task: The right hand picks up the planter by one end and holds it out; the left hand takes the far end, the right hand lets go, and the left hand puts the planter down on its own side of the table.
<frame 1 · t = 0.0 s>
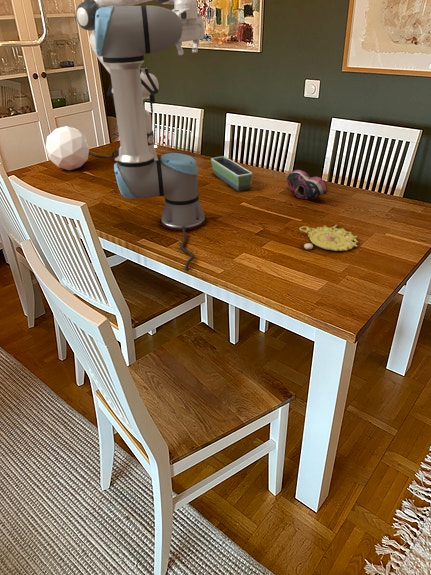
left hand: (188, 53, 179), 48 cm above the table, tool pointing down, fingers open, 8 cm apart
right hand: (135, 113, 181), 28 cm above the table, tool pointing down, fingers open, 13 cm apart
decorative object: (328, 239, 142), on the table
planter: (230, 181, 190), on the table
sphere: (71, 168, 212), on the table
athletic shoe: (301, 196, 174), on the table
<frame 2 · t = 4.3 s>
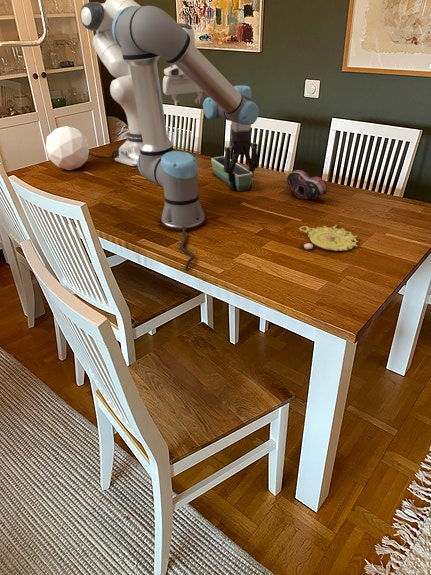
left hand: (187, 104, 190), 29 cm above the table, tool pointing down, fingers open, 8 cm apart
right hand: (241, 187, 183), 1 cm above the table, tool pointing down, fingers closed on planter, 7 cm apart
planter: (231, 181, 190), on the table, touching right hand
everything else where it was.
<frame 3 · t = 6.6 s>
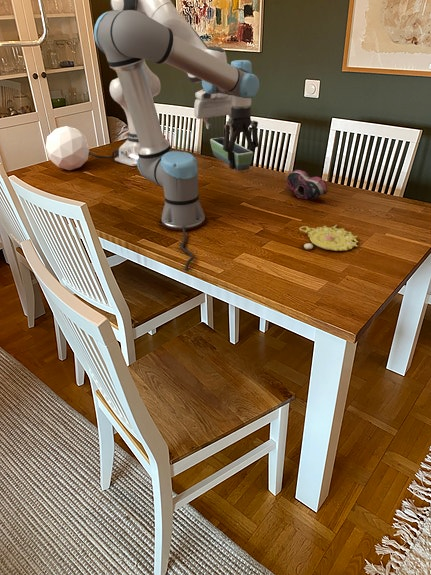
left hand: (218, 127, 187), 21 cm above the table, tool pointing down, fingers open, 8 cm apart
right hand: (240, 166, 178), 9 cm above the table, tool pointing down, fingers closed on planter, 7 cm apart
planter: (230, 162, 186), point 8 cm above the table, touching right hand
everything else where it was.
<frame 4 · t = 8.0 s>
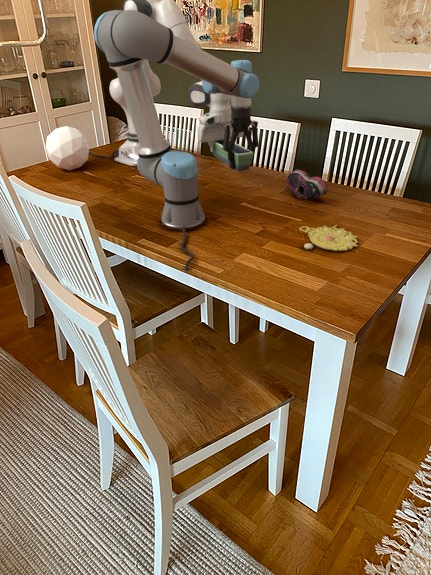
left hand: (221, 150, 192), 11 cm above the table, tool pointing down, fingers closed on planter, 7 cm apart
right hand: (240, 166, 178), 9 cm above the table, tool pointing down, fingers closed on planter, 7 cm apart
planter: (230, 162, 186), point 8 cm above the table, touching right hand, left hand
everything else where it was.
when the right hand's fingers open (9 cm above the table, at t = 9.2 s): planter stays where it is, held by the left hand.
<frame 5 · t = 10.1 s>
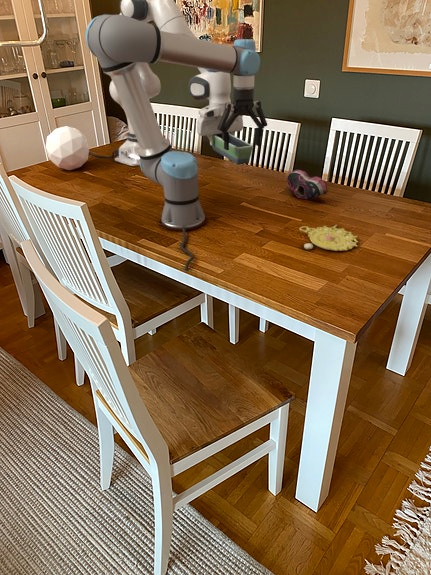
left hand: (220, 143, 190), 14 cm above the table, tool pointing down, fingers closed on planter, 6 cm apart
right hand: (242, 147, 172), 17 cm above the table, tool pointing down, fingers open, 13 cm apart
planter: (230, 156, 185), point 11 cm above the table, touching left hand
everything else where it was.
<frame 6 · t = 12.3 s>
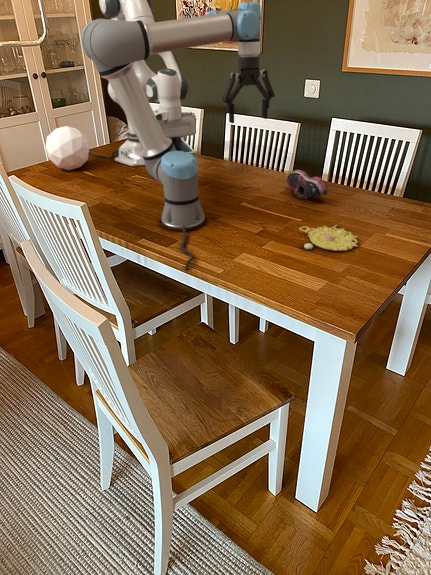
left hand: (173, 147, 187), 14 cm above the table, tool pointing down, fingers closed on planter, 6 cm apart
right hand: (248, 120, 163), 28 cm above the table, tool pointing down, fingers open, 13 cm apart
planter: (179, 161, 181), point 11 cm above the table, touching left hand
everything else where it was.
when the left hand's fingers open (4 cm above the table, at t = 17.0 s): planter stays where it is, on the table.
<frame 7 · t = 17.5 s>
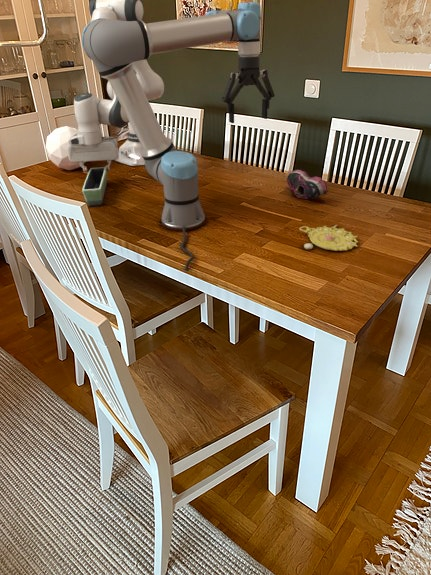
left hand: (96, 170, 186), 7 cm above the table, tool pointing down, fingers open, 8 cm apart
right hand: (248, 120, 163), 28 cm above the table, tool pointing down, fingers open, 13 cm apart
planter: (98, 194, 181), on the table
everything else where it was.
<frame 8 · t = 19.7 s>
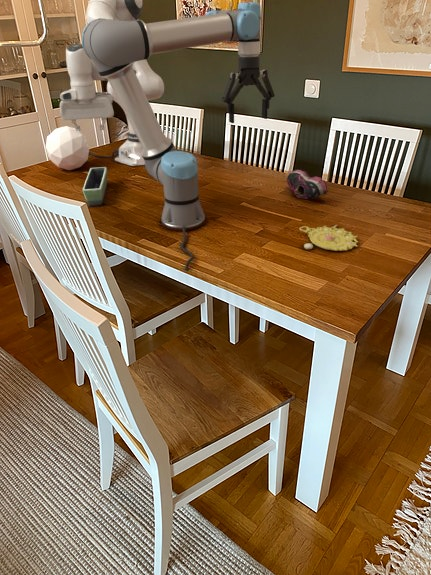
left hand: (90, 130, 177), 24 cm above the table, tool pointing down, fingers open, 8 cm apart
right hand: (248, 120, 163), 28 cm above the table, tool pointing down, fingers open, 13 cm apart
nothing on the table moved.
at the end: planter inside the target area (9.4 cm from its centre), on the table; the left hand is holding nothing; the right hand is holding nothing; planter at rest at the end (0.1 cm/s) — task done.
